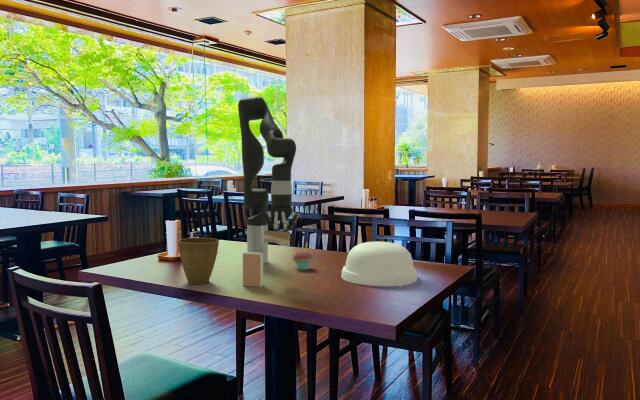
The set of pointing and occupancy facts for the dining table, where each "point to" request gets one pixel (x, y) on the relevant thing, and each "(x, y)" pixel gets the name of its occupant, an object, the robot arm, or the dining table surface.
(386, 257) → the dome cover
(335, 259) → the dining table surface
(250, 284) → the pink white upright block
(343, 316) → the dining table surface
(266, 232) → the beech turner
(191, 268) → the plant pot
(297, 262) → the cupcake
